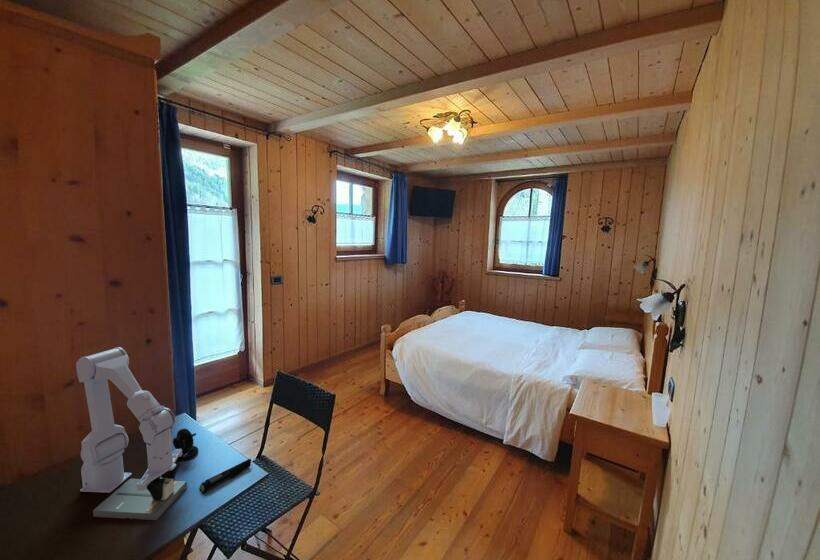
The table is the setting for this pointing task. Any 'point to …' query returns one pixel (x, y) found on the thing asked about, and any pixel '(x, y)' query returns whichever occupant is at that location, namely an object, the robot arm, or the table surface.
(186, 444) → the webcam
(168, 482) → the fader
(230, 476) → the electric trimmer
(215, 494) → the table surface
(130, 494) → the console
